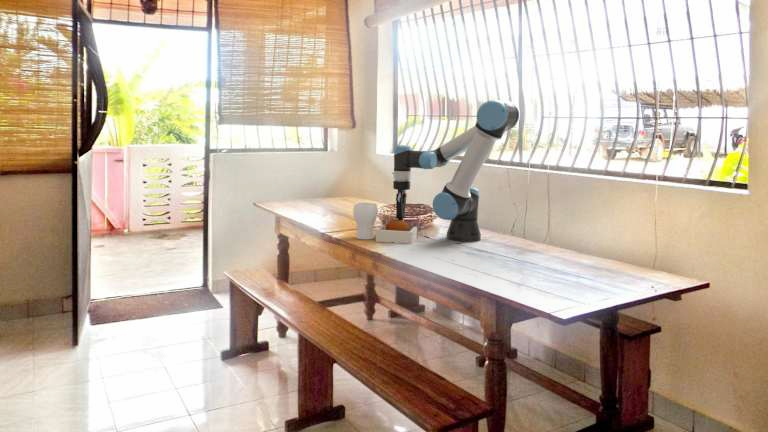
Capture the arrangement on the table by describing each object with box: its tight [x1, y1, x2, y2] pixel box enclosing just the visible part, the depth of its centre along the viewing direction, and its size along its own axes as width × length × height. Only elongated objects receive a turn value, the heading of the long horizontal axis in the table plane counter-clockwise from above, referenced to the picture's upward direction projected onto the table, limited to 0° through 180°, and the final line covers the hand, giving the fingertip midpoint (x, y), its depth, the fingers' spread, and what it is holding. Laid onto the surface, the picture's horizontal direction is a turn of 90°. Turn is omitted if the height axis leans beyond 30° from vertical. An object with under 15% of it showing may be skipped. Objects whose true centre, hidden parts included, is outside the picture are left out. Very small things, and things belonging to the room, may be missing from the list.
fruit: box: [385, 219, 410, 231], centre depth 274 cm, size 11×10×8 cm
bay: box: [375, 219, 419, 245], centre depth 273 cm, size 16×16×7 cm
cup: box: [352, 202, 379, 240], centre depth 274 cm, size 11×11×15 cm
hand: (400, 232), depth 282 cm, fingers closed
